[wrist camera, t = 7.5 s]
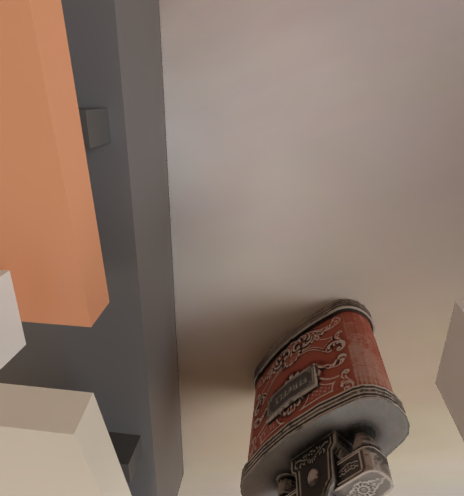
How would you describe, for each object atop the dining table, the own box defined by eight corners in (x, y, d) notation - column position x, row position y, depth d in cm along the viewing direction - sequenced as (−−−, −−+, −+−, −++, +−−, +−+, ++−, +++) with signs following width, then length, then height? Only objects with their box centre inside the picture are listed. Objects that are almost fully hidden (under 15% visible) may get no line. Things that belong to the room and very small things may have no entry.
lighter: (341, 285, 21) (381, 436, 12) (386, 325, 22) (457, 500, 12) (241, 371, 24) (211, 546, 15) (283, 405, 25) (278, 594, 15)
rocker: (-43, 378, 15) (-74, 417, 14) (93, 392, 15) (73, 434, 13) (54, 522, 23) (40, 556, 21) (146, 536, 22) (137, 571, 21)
